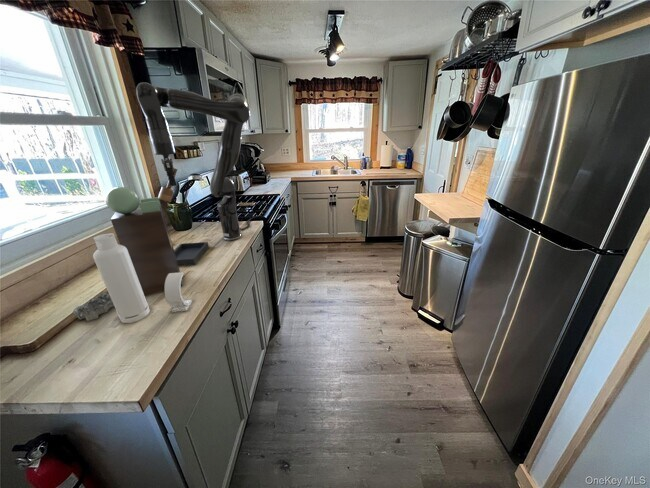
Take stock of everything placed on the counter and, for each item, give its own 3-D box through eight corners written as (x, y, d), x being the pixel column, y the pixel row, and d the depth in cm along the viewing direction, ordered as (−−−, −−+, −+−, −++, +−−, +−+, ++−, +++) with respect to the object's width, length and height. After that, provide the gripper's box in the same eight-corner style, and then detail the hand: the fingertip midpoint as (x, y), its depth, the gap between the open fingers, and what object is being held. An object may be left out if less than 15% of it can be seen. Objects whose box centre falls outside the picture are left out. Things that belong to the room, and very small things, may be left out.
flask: (113, 212, 90) (103, 186, 86) (161, 206, 97) (153, 181, 93) (108, 219, 83) (98, 191, 79) (160, 211, 89) (153, 185, 86)
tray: (182, 249, 134) (180, 243, 133) (209, 247, 135) (207, 241, 134) (164, 267, 116) (162, 260, 115) (195, 264, 117) (193, 258, 116)
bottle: (155, 309, 88) (127, 232, 76) (132, 325, 81) (98, 243, 69) (138, 305, 90) (108, 230, 79) (114, 320, 83) (78, 240, 72)
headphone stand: (191, 301, 91) (183, 272, 86) (185, 312, 86) (175, 281, 81) (178, 302, 91) (169, 273, 86) (170, 313, 85) (160, 282, 80)
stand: (141, 284, 103) (115, 212, 91) (181, 275, 109) (161, 205, 97) (140, 297, 95) (110, 219, 83) (182, 285, 101) (160, 212, 89)
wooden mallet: (159, 199, 107) (171, 202, 110) (170, 167, 105) (182, 172, 109) (156, 196, 110) (169, 199, 114) (167, 165, 108) (179, 170, 112)
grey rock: (90, 322, 82) (85, 312, 81) (73, 319, 84) (68, 308, 83) (122, 302, 92) (118, 293, 90) (106, 299, 94) (102, 290, 92)
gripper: (151, 141, 107) (163, 183, 114) (150, 142, 96) (163, 189, 103) (172, 141, 110) (182, 182, 117) (173, 141, 99) (184, 186, 106)
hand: (173, 185), depth 110 cm, fingers closed on wooden mallet
